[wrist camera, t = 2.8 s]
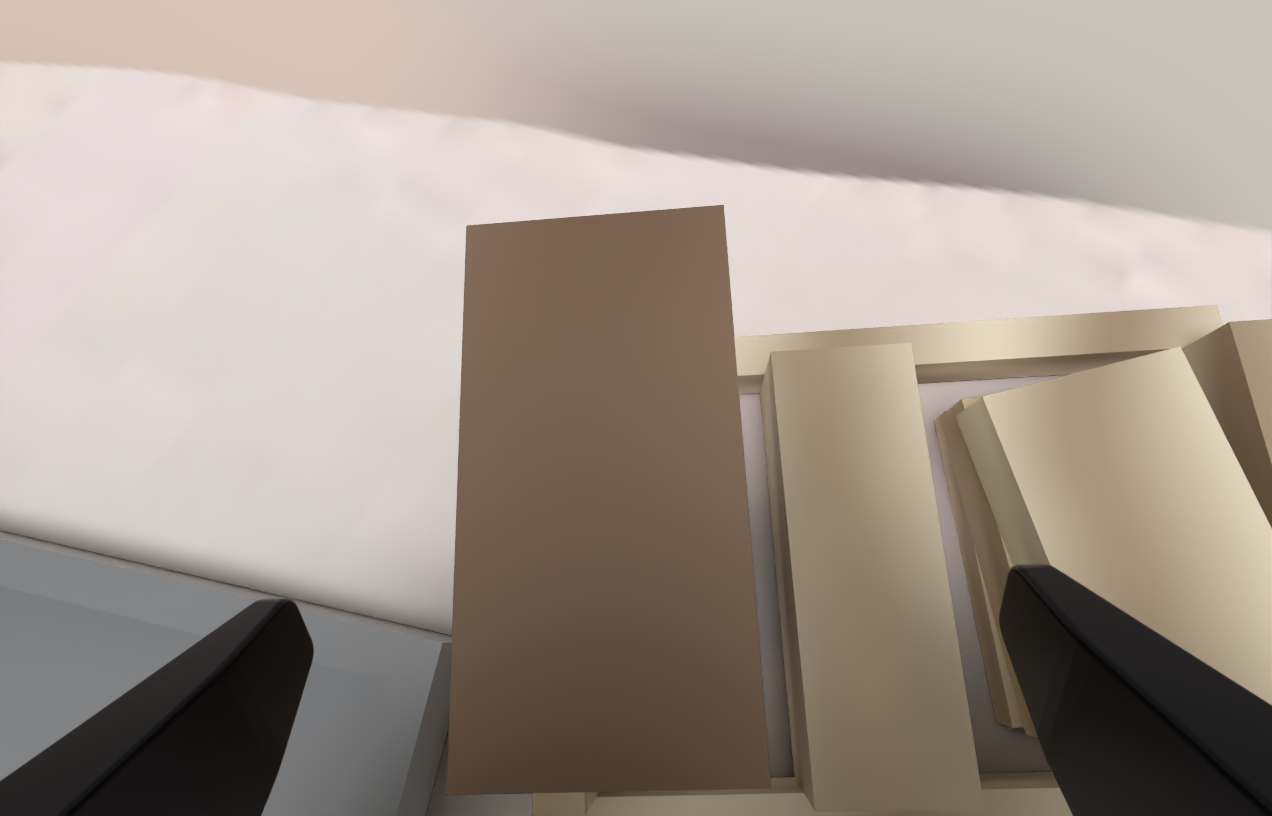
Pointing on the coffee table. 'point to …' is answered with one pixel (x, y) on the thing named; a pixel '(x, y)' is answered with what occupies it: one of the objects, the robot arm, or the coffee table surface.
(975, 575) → the offcut
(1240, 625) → the offcut
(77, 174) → the coffee table surface
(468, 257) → the walnut block
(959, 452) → the offcut
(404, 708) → the tray
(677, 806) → the offcut rack
